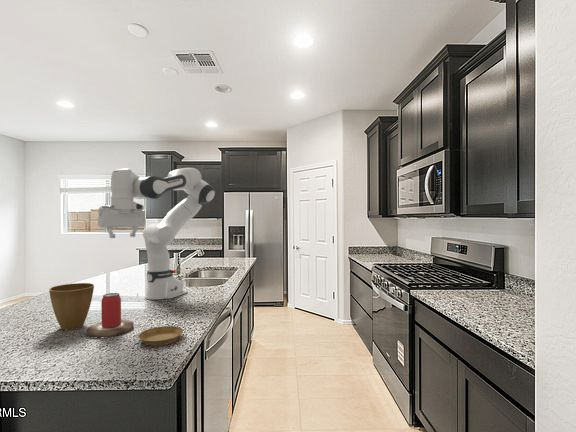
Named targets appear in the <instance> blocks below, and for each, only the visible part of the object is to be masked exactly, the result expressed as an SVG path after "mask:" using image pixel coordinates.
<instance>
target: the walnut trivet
mask: <svg viewBox="0 0 576 432" xmlns="http://www.w3.org/2000/svg"><path fill="white" fill-rule="evenodd" d="M134 326H135V325H134V321H132V320H129V319H121V324H120V325H119V326H117V327H114V328H103V327H102V321H101V322H98V323H94V324H92V325H90V326H88V327H87V328H86V330H85V336H86V335H87V336H86V337H88V338H91V337H97V338H96V339H102V338H101V337H107V338H111V336H113V337H117V336H116V335H118V336H120V335H123V334H127V333H129V332H130V331H132V330H133V329H134V328H135V327H134ZM99 337H100V338H99Z"/></svg>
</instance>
